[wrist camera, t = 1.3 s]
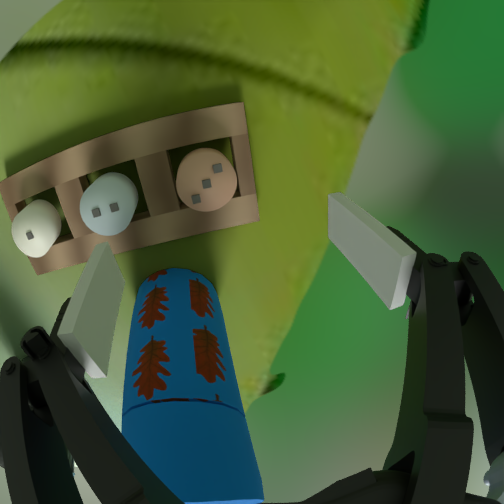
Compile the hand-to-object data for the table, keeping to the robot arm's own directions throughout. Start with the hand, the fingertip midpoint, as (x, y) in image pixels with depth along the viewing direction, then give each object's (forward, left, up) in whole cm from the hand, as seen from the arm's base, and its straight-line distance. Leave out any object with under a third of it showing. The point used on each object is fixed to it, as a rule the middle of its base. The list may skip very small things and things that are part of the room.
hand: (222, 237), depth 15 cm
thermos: (-7, -15, -15) cm, 22 cm away
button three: (0, 0, -12) cm, 12 cm away
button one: (-18, 0, -12) cm, 22 cm away
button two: (-9, 0, -12) cm, 15 cm away
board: (-9, 0, -14) cm, 17 cm away
